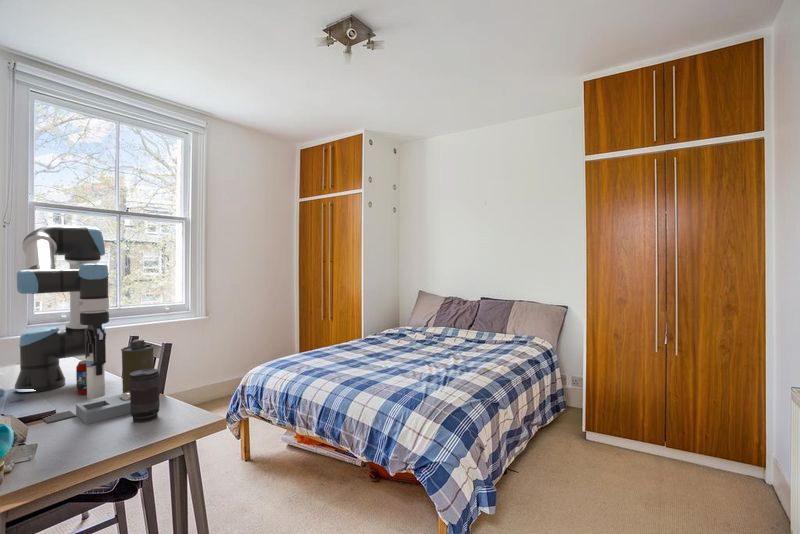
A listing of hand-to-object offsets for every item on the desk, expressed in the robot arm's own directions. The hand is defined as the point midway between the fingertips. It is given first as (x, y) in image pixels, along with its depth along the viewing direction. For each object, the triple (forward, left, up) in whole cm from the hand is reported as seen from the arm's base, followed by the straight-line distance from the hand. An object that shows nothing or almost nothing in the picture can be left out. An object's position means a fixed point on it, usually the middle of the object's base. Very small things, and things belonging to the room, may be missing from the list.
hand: (95, 383), depth 131 cm
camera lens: (+15, +9, -11) cm, 21 cm away
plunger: (0, +9, -10) cm, 13 cm away
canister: (-15, +17, -11) cm, 25 cm away
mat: (-8, -8, -11) cm, 15 cm away
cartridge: (0, 0, -4) cm, 4 cm away
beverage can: (-31, +5, -11) cm, 33 cm away
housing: (0, +4, -11) cm, 11 cm away
